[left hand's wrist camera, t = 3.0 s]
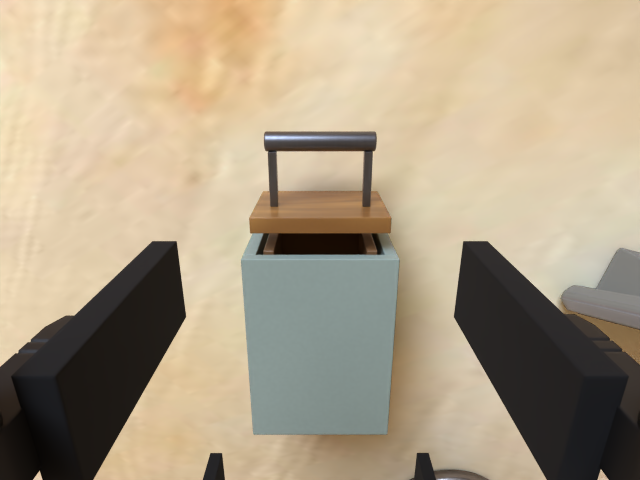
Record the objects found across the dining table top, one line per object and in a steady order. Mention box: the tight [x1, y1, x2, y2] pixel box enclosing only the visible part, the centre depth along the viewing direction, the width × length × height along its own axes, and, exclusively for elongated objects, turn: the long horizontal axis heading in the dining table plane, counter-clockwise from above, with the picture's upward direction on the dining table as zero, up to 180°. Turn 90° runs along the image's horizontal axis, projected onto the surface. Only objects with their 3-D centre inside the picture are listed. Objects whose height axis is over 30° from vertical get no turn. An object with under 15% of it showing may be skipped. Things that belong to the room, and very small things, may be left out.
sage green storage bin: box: [241, 233, 400, 435], centre depth 37 cm, size 16×11×10 cm
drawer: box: [249, 132, 391, 255], centre depth 35 cm, size 20×10×8 cm, turn 0°
